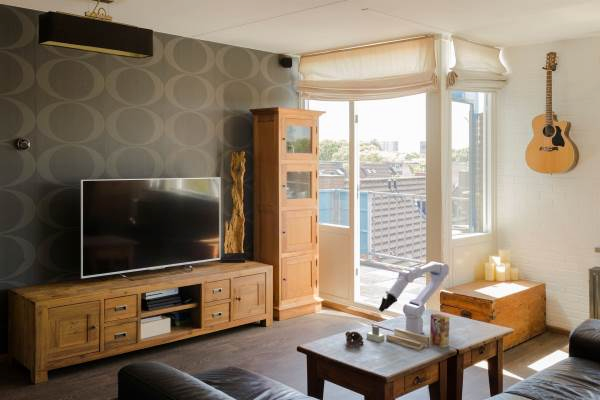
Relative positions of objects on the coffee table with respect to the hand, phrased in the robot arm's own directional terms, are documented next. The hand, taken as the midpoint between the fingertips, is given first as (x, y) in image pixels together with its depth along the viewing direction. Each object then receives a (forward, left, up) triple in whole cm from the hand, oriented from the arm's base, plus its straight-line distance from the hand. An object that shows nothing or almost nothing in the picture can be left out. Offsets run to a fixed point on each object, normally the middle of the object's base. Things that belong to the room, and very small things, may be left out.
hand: (382, 309), depth 296 cm
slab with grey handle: (0, -4, -17) cm, 17 cm away
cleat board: (-7, +11, -17) cm, 21 cm away
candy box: (-16, +24, -17) cm, 33 cm away
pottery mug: (+16, -6, -17) cm, 24 cm away
